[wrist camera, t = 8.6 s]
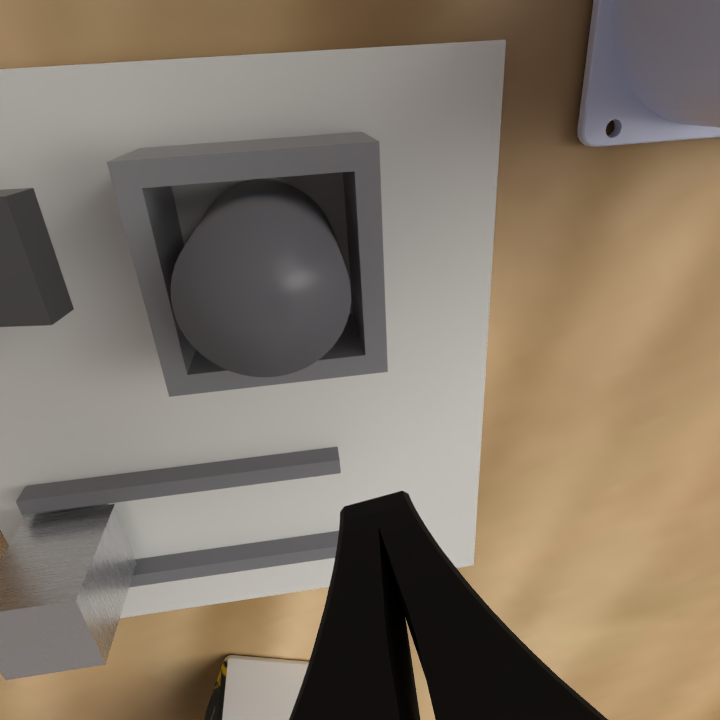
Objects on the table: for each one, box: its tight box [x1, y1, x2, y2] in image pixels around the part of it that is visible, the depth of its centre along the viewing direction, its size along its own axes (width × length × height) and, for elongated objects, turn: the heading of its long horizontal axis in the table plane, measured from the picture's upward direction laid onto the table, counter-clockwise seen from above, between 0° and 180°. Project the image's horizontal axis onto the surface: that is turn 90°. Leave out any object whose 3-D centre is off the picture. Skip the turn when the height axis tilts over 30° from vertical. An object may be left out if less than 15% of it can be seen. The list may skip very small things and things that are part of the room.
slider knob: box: [0, 504, 136, 680], centre depth 17 cm, size 3×3×4 cm
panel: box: [0, 40, 506, 618], centre depth 17 cm, size 18×20×4 cm
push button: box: [171, 180, 351, 377], centre depth 14 cm, size 4×4×4 cm
